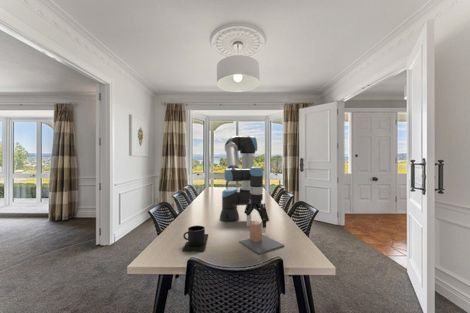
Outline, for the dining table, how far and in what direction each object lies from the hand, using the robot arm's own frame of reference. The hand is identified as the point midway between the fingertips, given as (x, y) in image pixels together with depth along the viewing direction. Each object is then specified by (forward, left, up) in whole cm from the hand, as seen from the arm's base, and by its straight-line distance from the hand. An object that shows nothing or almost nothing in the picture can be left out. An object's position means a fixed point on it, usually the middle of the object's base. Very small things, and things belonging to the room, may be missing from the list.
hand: (255, 229), depth 133 cm
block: (0, 0, -6) cm, 6 cm away
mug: (-16, -32, -7) cm, 37 cm away
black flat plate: (-18, -32, -8) cm, 37 cm away
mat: (+5, 0, -7) cm, 9 cm away
